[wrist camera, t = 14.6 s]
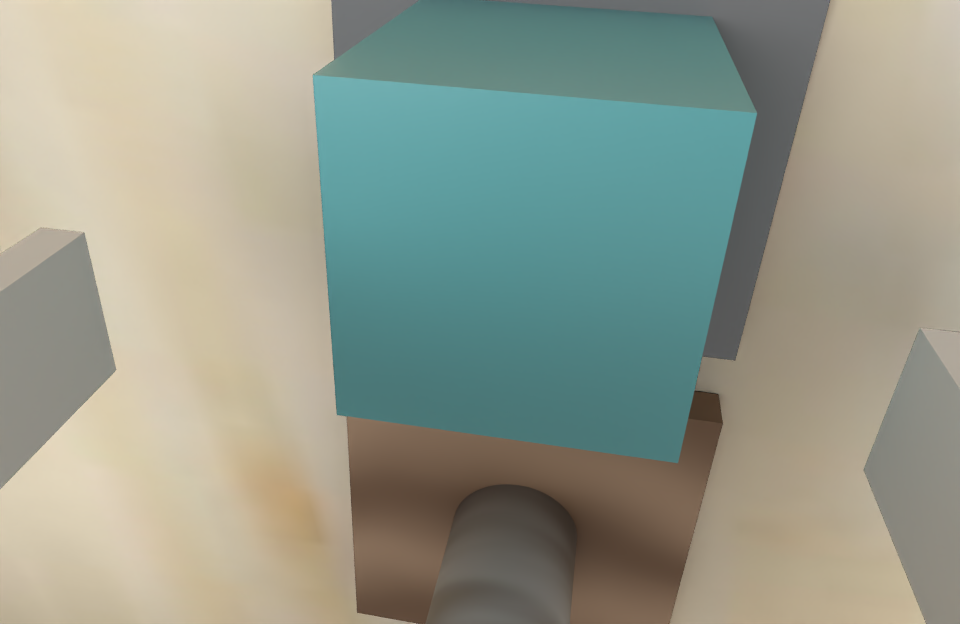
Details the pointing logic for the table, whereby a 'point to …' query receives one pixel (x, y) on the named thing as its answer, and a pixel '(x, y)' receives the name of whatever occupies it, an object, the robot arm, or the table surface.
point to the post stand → (521, 525)
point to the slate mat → (770, 85)
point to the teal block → (529, 219)
